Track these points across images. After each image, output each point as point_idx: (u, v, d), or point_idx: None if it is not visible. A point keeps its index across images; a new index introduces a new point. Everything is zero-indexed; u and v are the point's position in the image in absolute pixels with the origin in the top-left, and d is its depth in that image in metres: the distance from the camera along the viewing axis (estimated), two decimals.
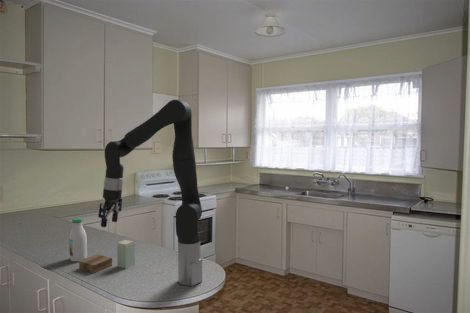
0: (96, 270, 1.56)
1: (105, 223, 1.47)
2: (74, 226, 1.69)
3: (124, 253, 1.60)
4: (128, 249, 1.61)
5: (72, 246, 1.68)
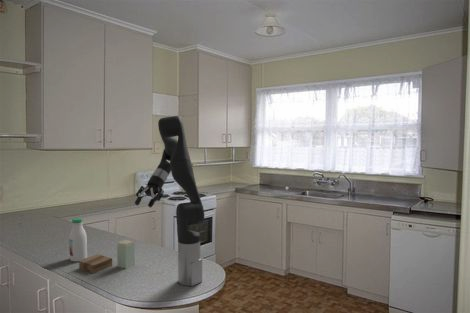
0: (96, 270, 1.56)
1: (136, 200, 1.74)
2: (74, 226, 1.69)
3: (124, 253, 1.60)
4: (128, 249, 1.61)
5: (72, 246, 1.68)
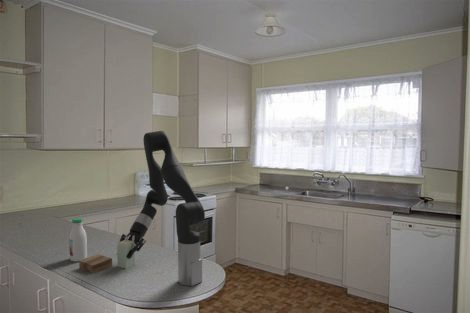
0: (95, 270, 1.56)
1: None
2: (74, 226, 1.69)
3: (124, 253, 1.60)
4: (128, 249, 1.61)
5: (72, 246, 1.68)
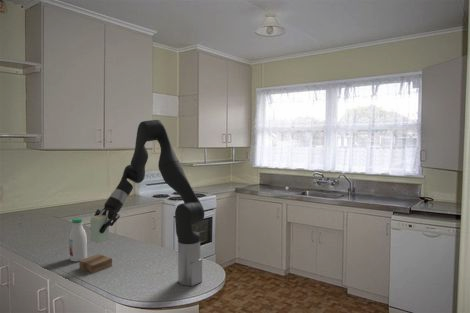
0: (95, 270, 1.56)
1: None
2: (74, 226, 1.69)
3: (97, 227, 1.58)
4: (101, 223, 1.59)
5: (72, 246, 1.68)
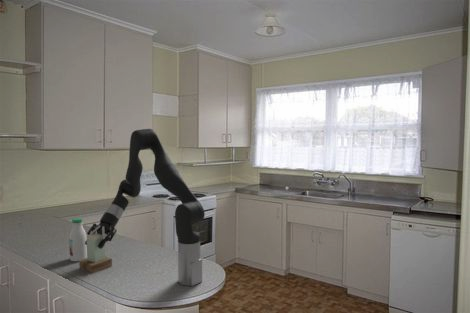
0: (94, 270, 1.56)
1: None
2: (74, 226, 1.69)
3: (93, 247, 1.58)
4: (97, 242, 1.59)
5: (72, 246, 1.68)
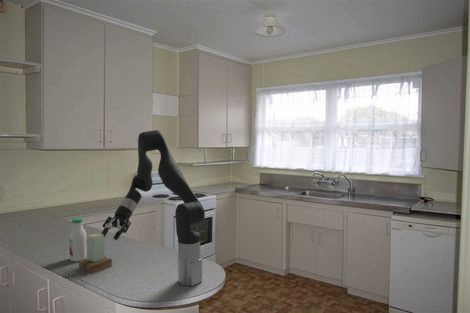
0: (94, 271, 1.56)
1: (102, 232, 1.70)
2: (74, 226, 1.69)
3: (93, 246, 1.58)
4: (97, 242, 1.59)
5: (72, 246, 1.68)
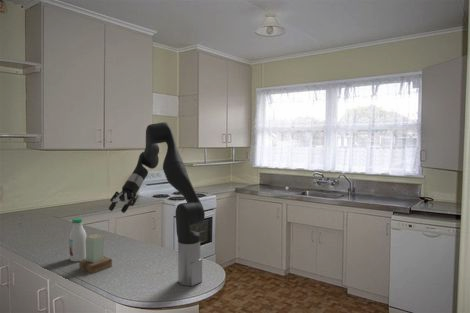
0: (94, 271, 1.55)
1: (110, 206, 1.74)
2: (74, 226, 1.69)
3: (92, 247, 1.57)
4: (96, 243, 1.58)
5: (72, 246, 1.68)
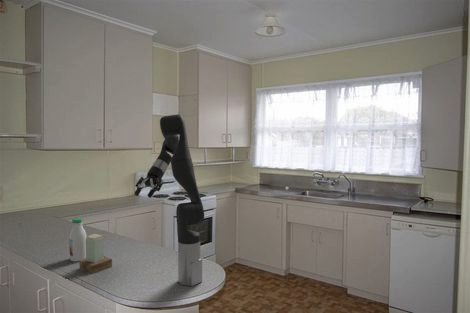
0: (94, 271, 1.56)
1: (136, 191, 1.75)
2: (74, 226, 1.69)
3: (93, 247, 1.57)
4: (97, 243, 1.58)
5: (72, 246, 1.68)
